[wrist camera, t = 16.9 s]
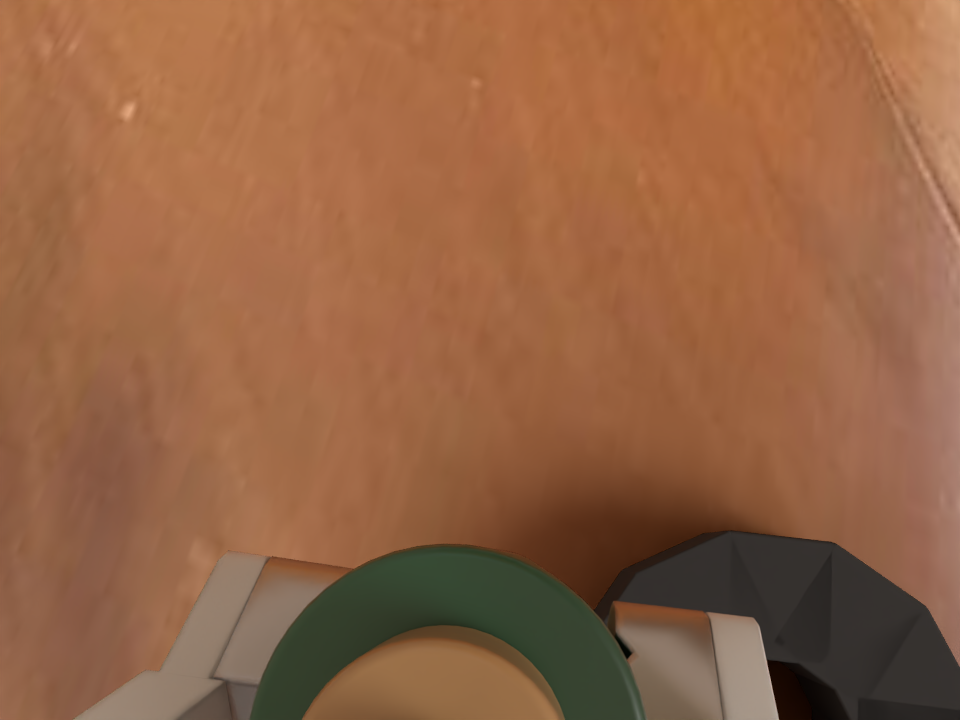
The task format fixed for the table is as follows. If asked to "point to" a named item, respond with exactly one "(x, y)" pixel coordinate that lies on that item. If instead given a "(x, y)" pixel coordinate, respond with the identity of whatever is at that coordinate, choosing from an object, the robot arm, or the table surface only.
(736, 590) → the black faceted ring
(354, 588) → the green capped cylinder
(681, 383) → the table surface
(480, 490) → the table surface
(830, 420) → the table surface
